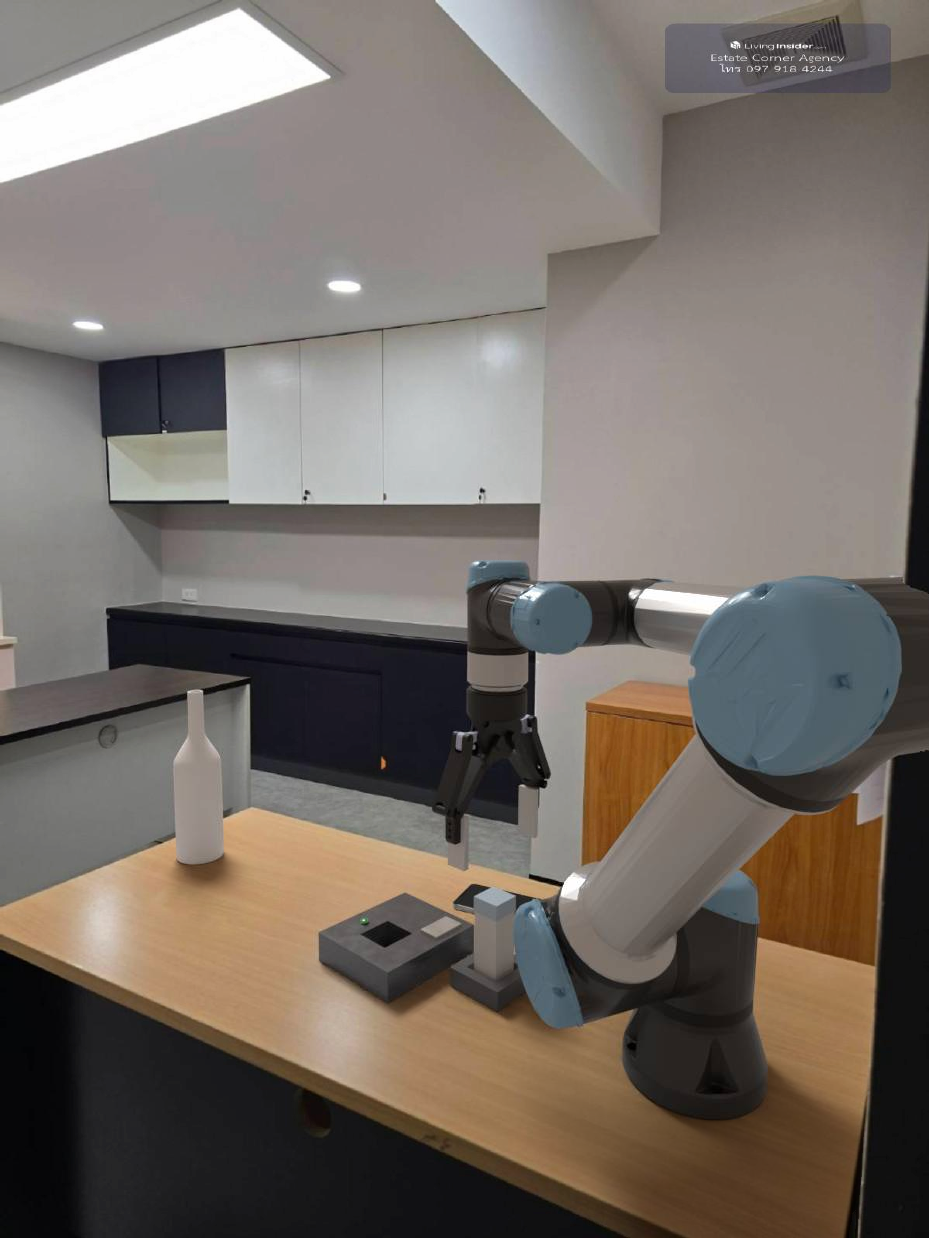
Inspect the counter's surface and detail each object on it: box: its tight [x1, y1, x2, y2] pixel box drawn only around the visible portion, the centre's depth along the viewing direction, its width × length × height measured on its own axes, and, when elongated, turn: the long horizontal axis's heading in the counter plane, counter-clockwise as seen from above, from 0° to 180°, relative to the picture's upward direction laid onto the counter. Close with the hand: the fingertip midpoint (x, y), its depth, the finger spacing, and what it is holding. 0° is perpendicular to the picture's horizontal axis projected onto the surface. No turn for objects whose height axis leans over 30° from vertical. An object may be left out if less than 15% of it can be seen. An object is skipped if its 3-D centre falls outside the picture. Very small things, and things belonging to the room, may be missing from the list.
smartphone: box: [452, 883, 542, 917], centre depth 120 cm, size 8×1×15 cm
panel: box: [318, 892, 475, 1004], centre depth 105 cm, size 14×16×4 cm
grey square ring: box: [449, 952, 526, 1012], centre depth 99 cm, size 8×8×2 cm
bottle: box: [172, 689, 225, 866], centre depth 136 cm, size 8×8×30 cm
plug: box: [473, 886, 516, 982], centre depth 98 cm, size 4×4×12 cm
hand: (494, 850), depth 97 cm, fingers open, 13 cm apart
